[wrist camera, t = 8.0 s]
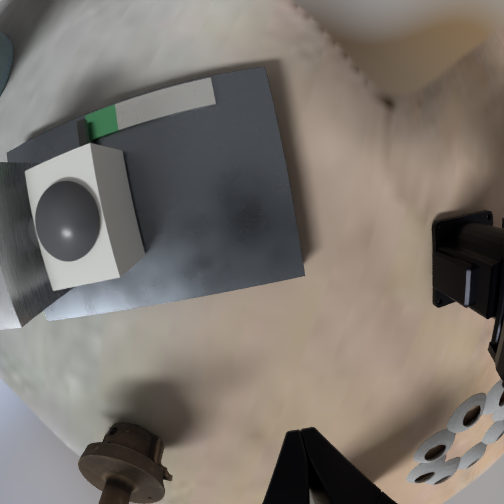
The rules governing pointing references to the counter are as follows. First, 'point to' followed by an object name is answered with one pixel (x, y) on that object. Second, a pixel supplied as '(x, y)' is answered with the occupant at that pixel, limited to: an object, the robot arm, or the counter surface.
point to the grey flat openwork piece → (446, 437)
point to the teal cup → (5, 59)
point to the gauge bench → (167, 200)
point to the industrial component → (126, 466)
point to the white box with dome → (83, 214)
